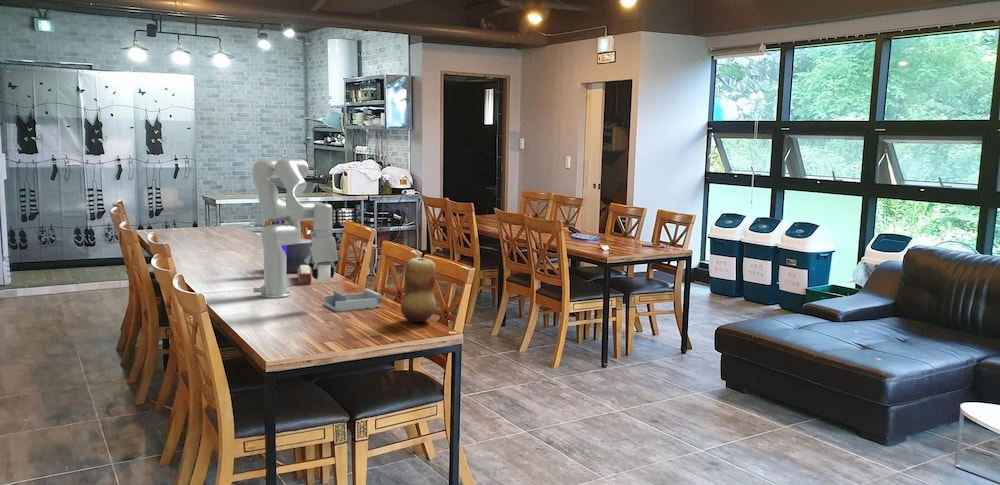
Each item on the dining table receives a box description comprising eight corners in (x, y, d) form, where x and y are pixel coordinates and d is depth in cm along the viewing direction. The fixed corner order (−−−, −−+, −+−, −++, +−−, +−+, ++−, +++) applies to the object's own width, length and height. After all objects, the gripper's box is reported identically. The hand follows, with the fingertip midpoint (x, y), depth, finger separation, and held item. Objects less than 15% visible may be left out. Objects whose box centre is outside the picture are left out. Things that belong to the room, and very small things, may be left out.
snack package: (312, 285, 367) (312, 271, 366) (298, 285, 365) (298, 271, 364) (311, 277, 387) (311, 264, 386) (297, 277, 385) (297, 264, 384)
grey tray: (335, 311, 311) (335, 298, 311) (323, 305, 323) (323, 292, 322) (381, 307, 322) (381, 294, 322) (368, 301, 334) (368, 288, 333)
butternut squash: (426, 327, 290) (427, 262, 286) (394, 323, 294) (395, 259, 291) (441, 320, 303) (442, 257, 299) (411, 316, 307) (411, 254, 304)
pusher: (343, 309, 314) (343, 296, 314) (333, 304, 324) (333, 291, 323) (372, 306, 321) (372, 293, 321) (362, 301, 331) (362, 288, 330)
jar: (318, 283, 310) (318, 263, 309) (313, 280, 315) (313, 261, 314) (333, 281, 313) (333, 262, 312) (327, 279, 318) (327, 260, 317)
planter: (308, 274, 396) (308, 243, 393) (274, 273, 396) (274, 242, 394) (317, 268, 413) (317, 239, 411) (284, 267, 413) (284, 238, 411)
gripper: (305, 236, 304) (305, 280, 306) (346, 234, 313) (346, 277, 315) (299, 234, 310) (299, 277, 312) (339, 232, 319) (339, 274, 321)
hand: (323, 277), depth 314 cm, fingers closed on jar, 6 cm apart
